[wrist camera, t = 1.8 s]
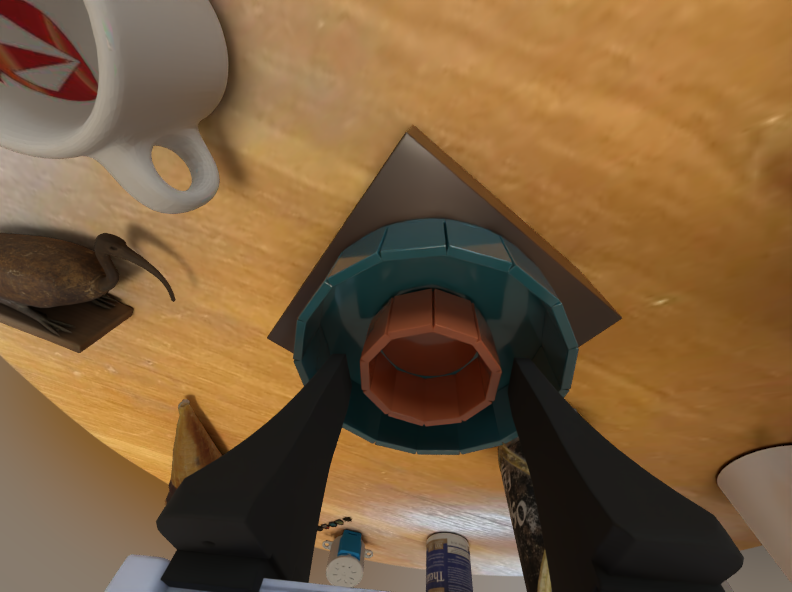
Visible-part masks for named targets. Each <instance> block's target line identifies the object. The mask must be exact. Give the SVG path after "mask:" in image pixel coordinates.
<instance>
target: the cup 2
mask: <svg viewBox="0 0 792 592" xmlns="http://www.w3.org/2000/svg"><path fill="white" fill-rule="evenodd" d="M717 484H718V486H719V488H720V489H721V490H722V492H723V493H724V494H725V496H726V497H727V498H728V500H729V501H730V502H731V504H732V505H733V506H734V508H735V509H736V510H737V512H738V513H739V514H740V516H741V517H742V518H743V520H744V521H745V522H746V524H747V525H748V526H749V528H750V529H751V530H752V532H753V533H754V534H755V536H756V537H757V538H758V540H759V541H760V542H761V544H762V545H763V546H764V547H765V549H766V550H767V551H768V553H769V554H770V555H771V557H772V558H773V559H774V561H775V562H776V563H777V565H778V566H779V567H780V569H781V570H782V571H783V573H784V574H785V575H786V577H787V578H788V579H789V580H790V582H791V583H792V445H789V446H779V447H774V448H768V449H764V450H760V451H757V452H754V453H751V454H748V455H745V456H743V457H741V458H739V459H737V460H735V461H733V462H732V463H730V464H729V465H727V466H726V467H725V468H724V469H723V470H722V471H721V472H720V474H719V475H718V478H717Z"/></svg>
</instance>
